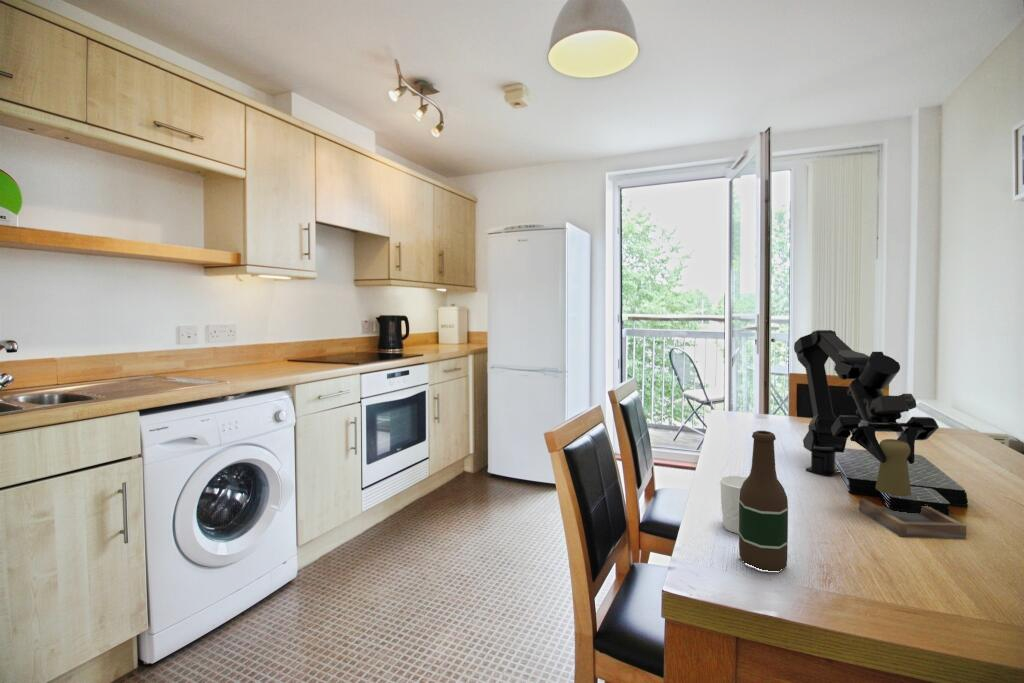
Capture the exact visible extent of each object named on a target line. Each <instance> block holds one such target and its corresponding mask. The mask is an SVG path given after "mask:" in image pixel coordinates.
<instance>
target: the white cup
mask: <svg viewBox="0 0 1024 683" xmlns="http://www.w3.org/2000/svg"><path fill="white" fill-rule="evenodd" d="M747 477H748V476H743V475H726V476H721V477H720V479H719V480H720V481H719V482H720V500H721V501H720V503H721V512H722V513H721V514H722V526H723V527H724V529H725V530H727V531H729V532H730V533H733V532H734V534H736V533H737V535H739V497H740V489H741V487H742V485H743V482H744V481H745V480H746V479H747Z"/></svg>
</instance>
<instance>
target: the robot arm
mask: <svg viewBox="0 0 1024 683" xmlns="http://www.w3.org/2000/svg"><path fill="white" fill-rule="evenodd" d="M793 345H794V346H793V351H794V353H795V355H796V358H797V361H798V362H799V363H800V364H801V365H802V366H803V367H804V368H805V373H806V379H807V385H808V390H809V391H808V392H809V398H810V403H811V409H812V415H813V417H812V419H811V420H810V422H809V424H808V431H807V433H806V434H805V436H804V438H803V439H802V444H803V448H804V449H806V450H807V451H809V452H810V453H811V454H810V455H811V456H810V458H811V459H810V466H809V467H807V468H805V471H807V472H811V473H815V474H817V475H824V476H828V477H832V476H835V475H837V474H839V473H838V472H837V470H838V469H837V468H836V453H841V454H843V453H844V452H845V449H846V445H847V440H848V438H849V437H850V438H849V440H850V441H851V442H855V443H856V444H858V445H859V446H861V447H862V448H863V449H865V450H866V451H867V452H868V453H869V454H871V455H872V456H873V457H874V458H875V459H876V460H878V462H881V463H884V462H885V461H886V460H885V457H884V454H883V452H882V449H881V447H880V445H879V444H880V442H879V441H878V439H877V437H876V432H877V433H880V432H883V433H885V432H886V433H896V435H897V439H896V440H900V441H904V442H906V443H907V444H908V445H909V446H910V454H909V456H908V457H907V463H909V465H913V464H914V463H915V442H916V441H925V440H928V439H929V438H930V437H931V436H932V435H933V434H934V433H935V432H936V431H937V430H938V429H939V428H940V426H939V425H938V423H937V420H936V419H935V418H933V417H930V416H911V417H910V418H909V419H908V420H907V422H897V420H900V419H901V418H902V413H905V412H909V410H913V409H916V408H917V402H916V399H915V397H914V395H913V394H912V393H902V394H899V395H884V392H883V390H884V389H886V388H887V387H888V386H889V385H890V383H891V382H892V381H893V379H895V377H896V376H897V374H898V373H899V371H900V370H901V365H900V363H899V361H896V359H894V358H892V357H891V356H888V355H886V354H884V352H883V351H871V353H870V355H867V354H865V353H863V352H860V351H855V350H853V349H852V348H851V347H849V345H848V344H847V343H845V342H844V341H843V340H842V339H841V338H840V337H839V336H838V335H837V333H836V331H835V330H831V329H817V330H813V331H812V332H811V333H809V334H807V335H803V336H801V337H799V338H798V339H797V340H796V341H794V344H793ZM829 358H830V359H831V360H832V361H833V362H834V367H833V369H834V370H833V371H835V373H836V375H837V376H838V378H839V379H841V380H846V381H847V380H849V381H851V382H850V384H849V385H848V389H847V391H846V394H847V396H852V398H853V401H854V403H855V405H856V408H857V409H856V410H855V413H856V415H846V414H845V415H844V414H843V415H841V414H839V415H838V416H837V417H836V416H835V414H834V411H833V404H832V400H831V399H832V398H831V394H830V388H829V382H828V379H827V378H828V377H827V372H826V366H825V365H826V363H827V361H828V359H829ZM882 389H883V390H882ZM860 417H861V418H860ZM836 469H837V470H836Z"/></svg>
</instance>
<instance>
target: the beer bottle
mask: <svg viewBox="0 0 1024 683" xmlns="http://www.w3.org/2000/svg"><path fill="white" fill-rule="evenodd" d="M751 437H752V438H753V443H752V446H753V447H752V458H751V460H752V461H751V466H750V467H751V469H750V472H749V475H748V476H746V477H747V479H746V480H745V481H744V482H743V485H742V487H741V489H740V497H739V534H738V549H739V550H738V551H739V552H738V553H739V557H740V559H741V558H742V559H741V561H742V560H743V561H744V562H743V561H742V562H743V564H744V563H747V564H749V565H752V566H754V567H756V568H759V569H762V570H768V571H780V570H781V569H783V568H785V567H787V565H788V551H789V550H788V546H789V544H788V543H789V542H788V537H789V528H788V526H789V505H788V503H789V502H788V500H789V499H788V496H787V493H786V491H785V488H784V486H783V485H782V483H781V482H780V480H779V479H778V477H777V471H776V457H775V456H776V455H775V441H776V440H777V439H776V434H774V433H773V432H771V431H767V430H756V431H753V432H752V435H751ZM785 569H786V568H785ZM783 570H784V569H783ZM780 572H781V571H780Z"/></svg>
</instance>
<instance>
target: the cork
mask: <svg viewBox="0 0 1024 683" xmlns="http://www.w3.org/2000/svg"><path fill="white" fill-rule="evenodd" d="M879 445H880V447H881V449H882V452H883V454H884V457H885V460H886V461H885V462H884V463H881V462H880V461H879V462H880V463H879V468H878V473H877V478H876V482H875V490H877V491H879V493H882V494H883V493H884V494H886V495H889V496H895V497H910V496H912V494H913V493H912V489H911V480H910V475H909V474H910V472H909V466H908V465H909V464H908V461H907V457H908V456H909V454H910V446H909V445H908V444H907V443H906V442H904V441H900V440H897V439H896V438H895V439H893V438H892V439H891V438H888V439H887V438H884V439H882V440H881V441H880V442H879Z"/></svg>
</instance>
